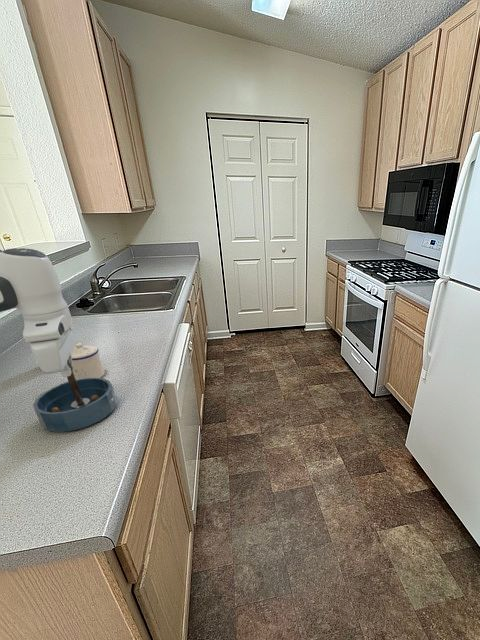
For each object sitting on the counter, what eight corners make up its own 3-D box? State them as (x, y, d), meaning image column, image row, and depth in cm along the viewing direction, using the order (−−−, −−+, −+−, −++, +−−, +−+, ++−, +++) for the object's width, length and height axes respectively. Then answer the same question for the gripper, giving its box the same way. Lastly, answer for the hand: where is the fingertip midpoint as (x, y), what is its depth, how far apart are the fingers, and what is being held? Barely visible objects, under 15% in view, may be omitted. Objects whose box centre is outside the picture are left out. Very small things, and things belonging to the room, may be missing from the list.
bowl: (34, 441, 80) (24, 421, 77) (51, 403, 94) (43, 385, 92) (114, 422, 86) (108, 403, 83) (119, 389, 100) (113, 372, 98)
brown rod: (72, 418, 87) (48, 355, 78) (75, 409, 90) (52, 348, 82) (91, 414, 88) (69, 352, 80) (94, 405, 92) (73, 345, 84)
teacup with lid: (105, 367, 114) (95, 336, 109) (106, 378, 107) (95, 345, 101) (64, 376, 109) (51, 344, 103) (62, 389, 102) (48, 354, 96)
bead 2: (94, 404, 94) (88, 400, 92) (96, 398, 95) (89, 395, 94) (100, 401, 94) (94, 397, 92) (101, 395, 95) (95, 392, 93)
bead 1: (55, 417, 89) (47, 414, 87) (56, 411, 90) (48, 409, 88) (60, 412, 88) (53, 409, 87) (61, 407, 90) (53, 404, 88)
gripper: (44, 310, 85) (62, 358, 91) (19, 338, 68) (43, 395, 74) (73, 306, 87) (88, 354, 93) (55, 333, 70) (76, 389, 77)
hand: (68, 372), depth 84 cm, fingers closed on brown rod
